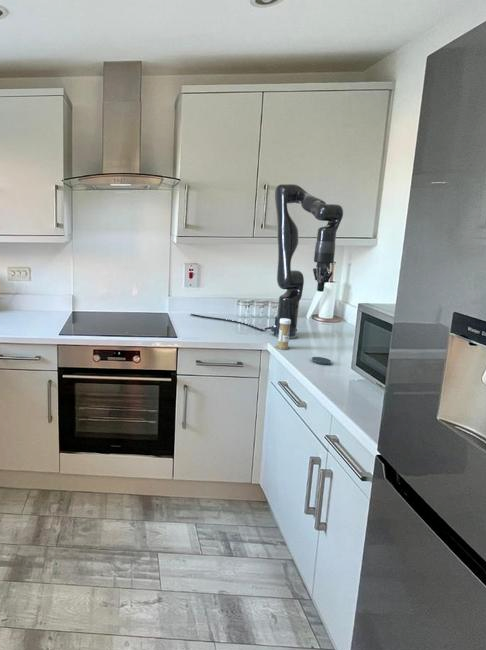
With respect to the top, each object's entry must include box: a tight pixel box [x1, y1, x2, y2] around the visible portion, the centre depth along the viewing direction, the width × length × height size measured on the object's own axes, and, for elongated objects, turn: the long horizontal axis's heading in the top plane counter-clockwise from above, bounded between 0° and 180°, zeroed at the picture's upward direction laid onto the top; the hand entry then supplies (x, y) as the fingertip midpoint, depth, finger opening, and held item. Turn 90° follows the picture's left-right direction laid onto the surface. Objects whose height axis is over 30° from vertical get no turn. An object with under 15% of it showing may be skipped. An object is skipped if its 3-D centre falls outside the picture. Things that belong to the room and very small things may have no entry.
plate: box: [311, 356, 332, 366], centre depth 171 cm, size 7×7×1 cm
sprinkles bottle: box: [277, 318, 291, 350], centre depth 188 cm, size 5×5×14 cm
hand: (320, 291), depth 182 cm, fingers closed
